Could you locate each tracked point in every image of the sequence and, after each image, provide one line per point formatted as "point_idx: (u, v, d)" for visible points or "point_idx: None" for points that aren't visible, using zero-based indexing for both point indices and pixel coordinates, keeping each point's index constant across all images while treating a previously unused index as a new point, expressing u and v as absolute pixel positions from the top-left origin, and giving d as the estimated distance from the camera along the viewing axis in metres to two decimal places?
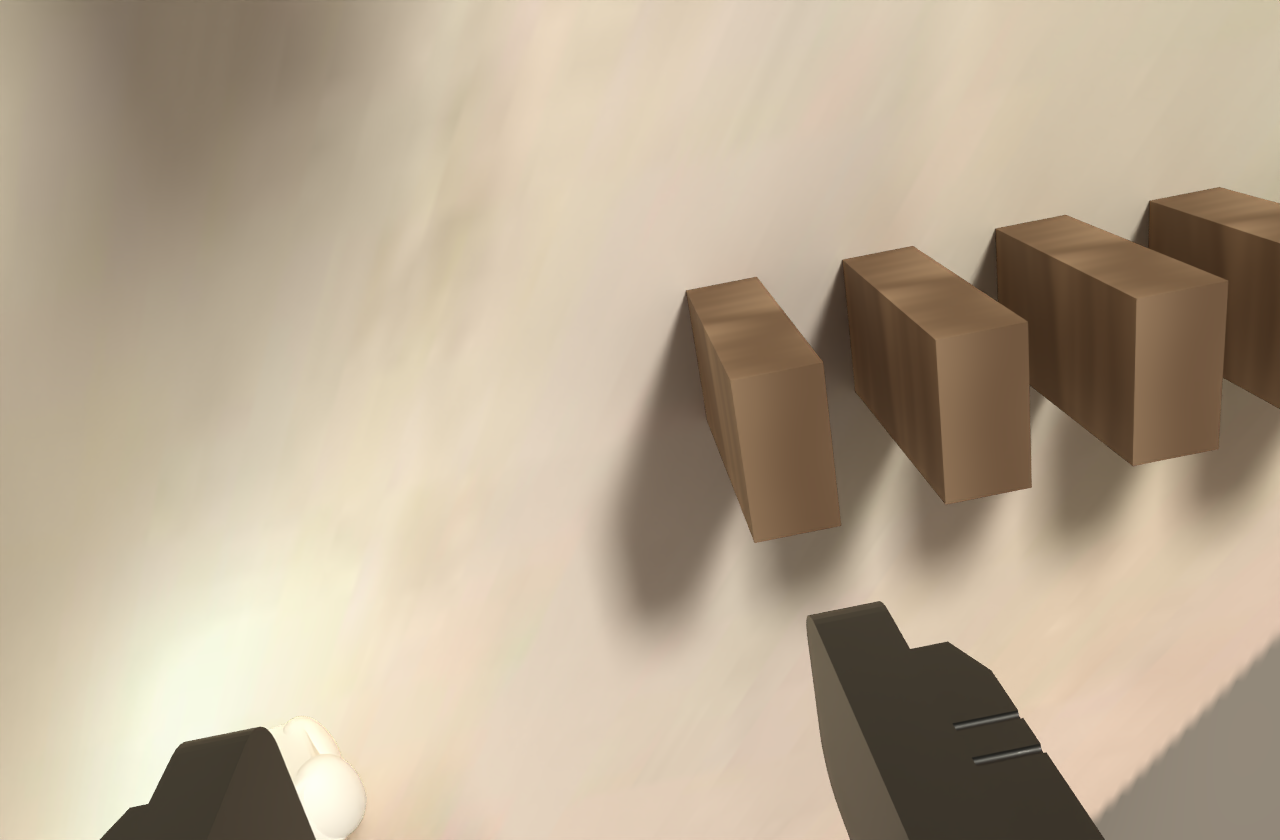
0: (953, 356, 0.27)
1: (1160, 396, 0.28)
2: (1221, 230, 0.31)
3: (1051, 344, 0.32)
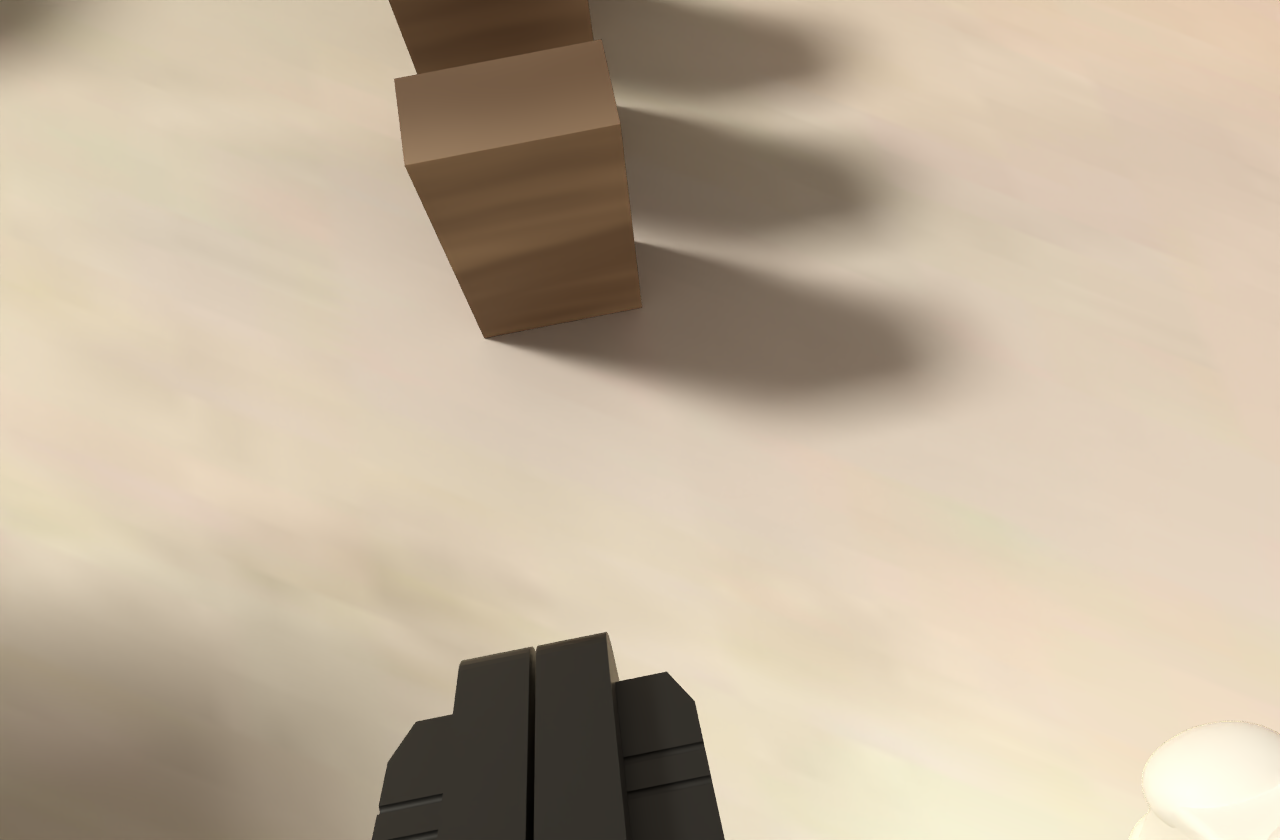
0: None
1: None
2: None
3: None
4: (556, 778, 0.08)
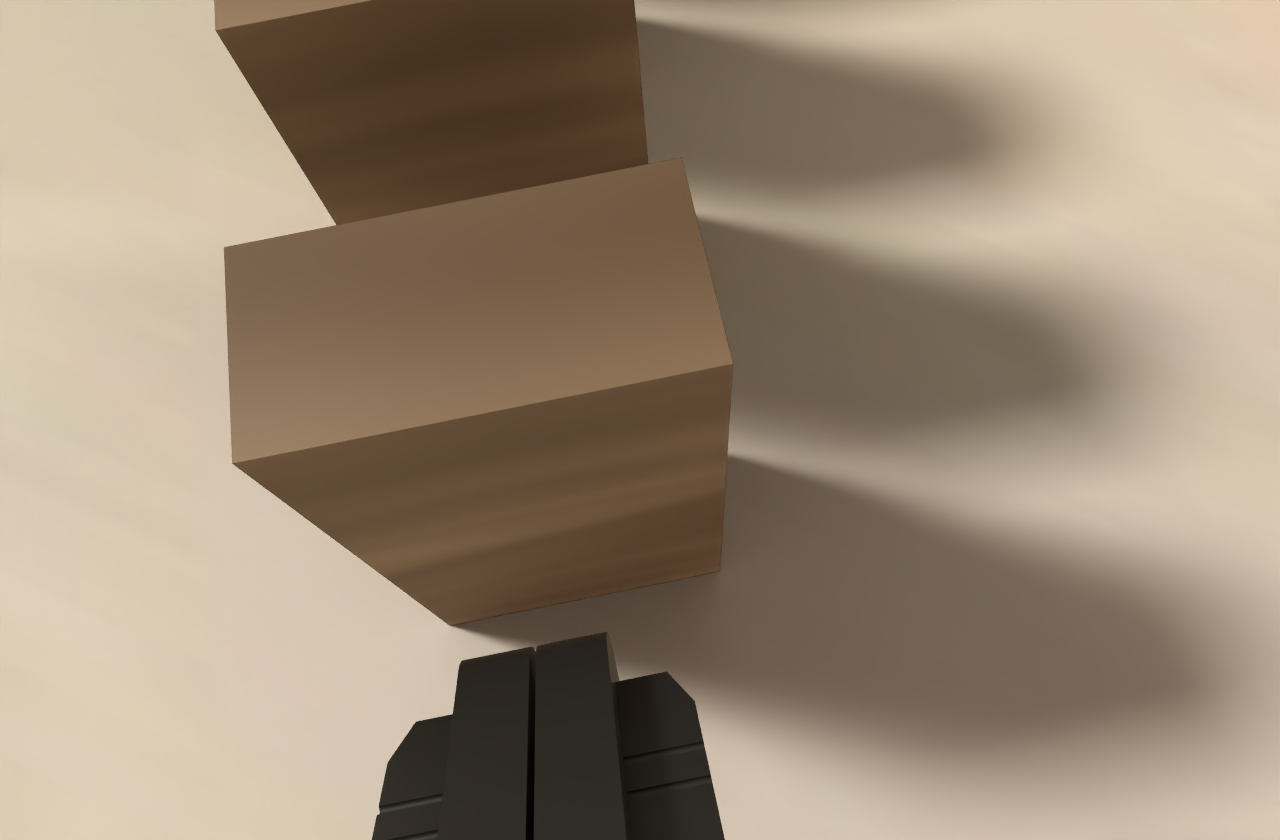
0: None
1: None
2: None
3: None
4: (556, 778, 0.08)
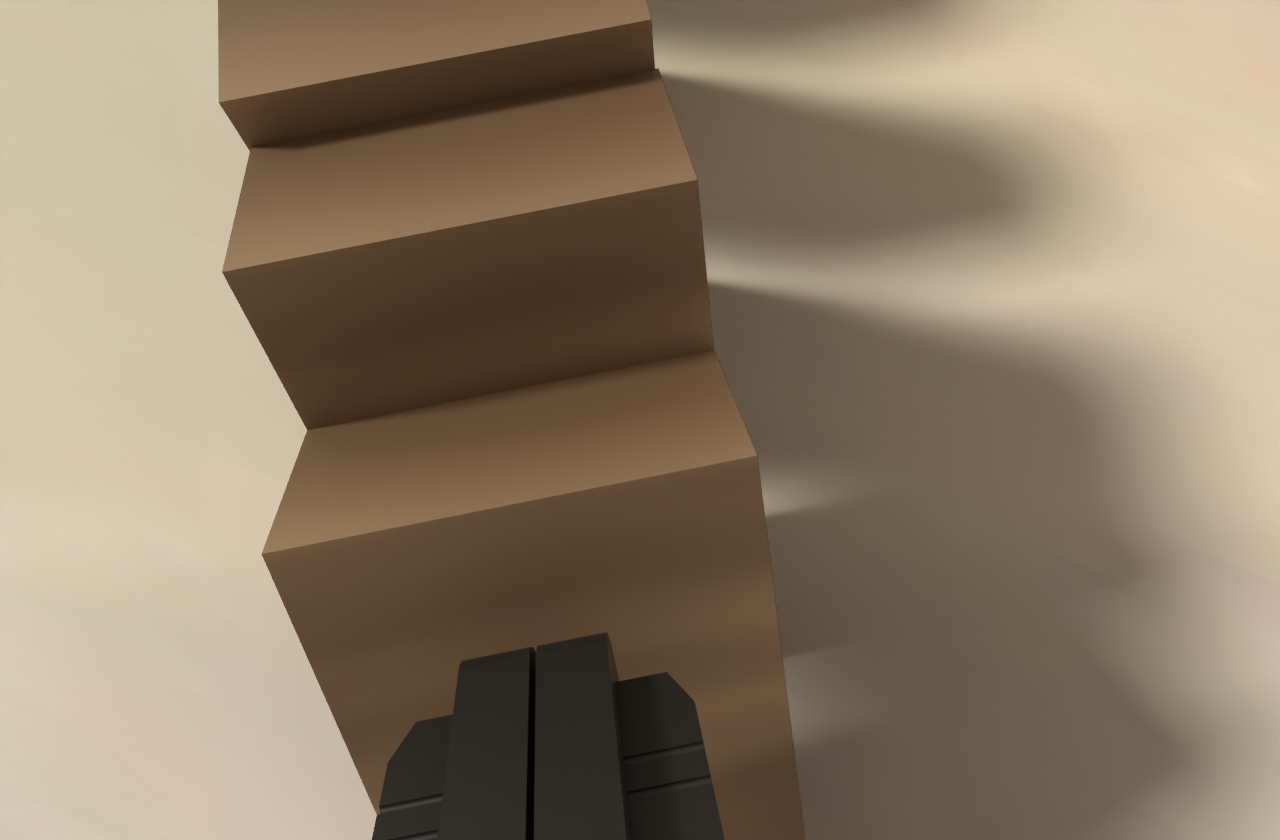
0: (280, 235, 0.11)
1: (470, 6, 0.12)
2: None
3: None
4: (556, 778, 0.08)
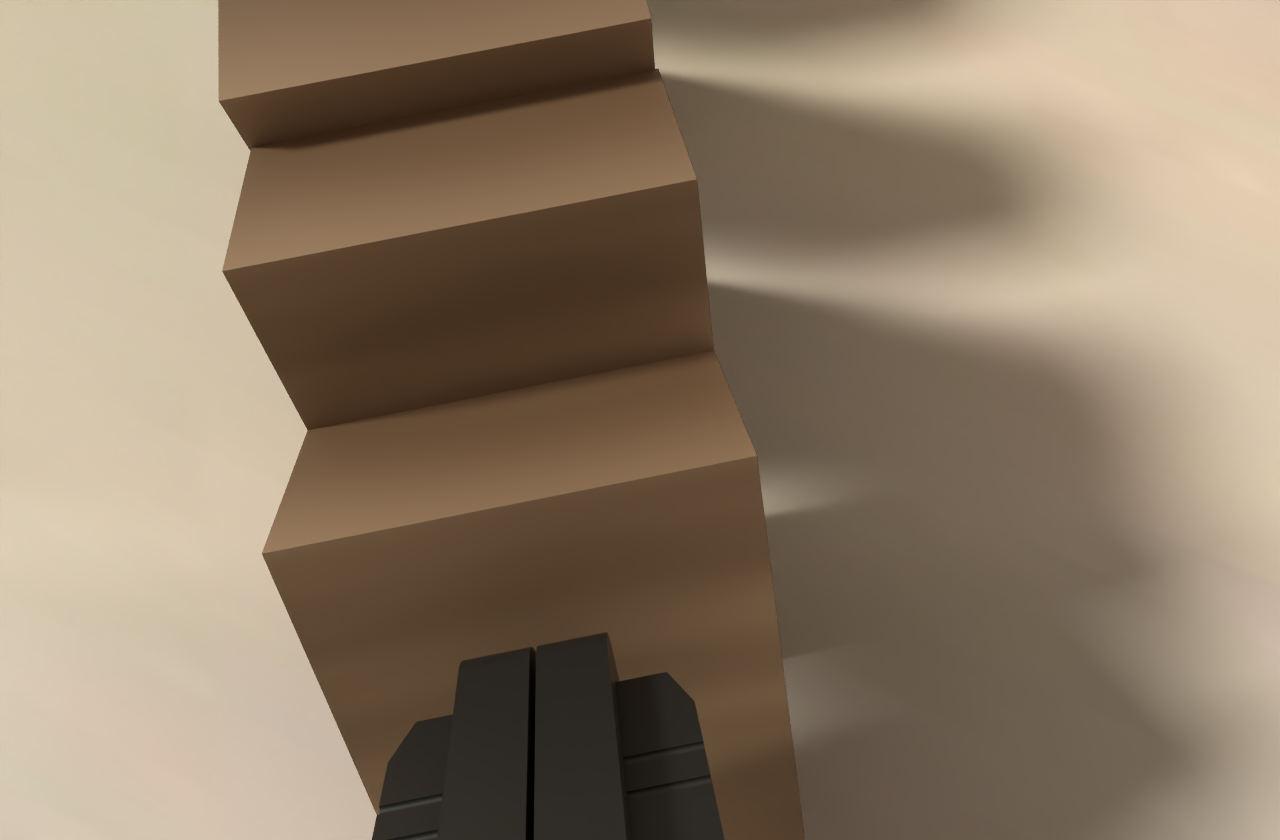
0: (281, 234, 0.11)
1: (470, 4, 0.12)
2: None
3: None
4: (556, 778, 0.08)
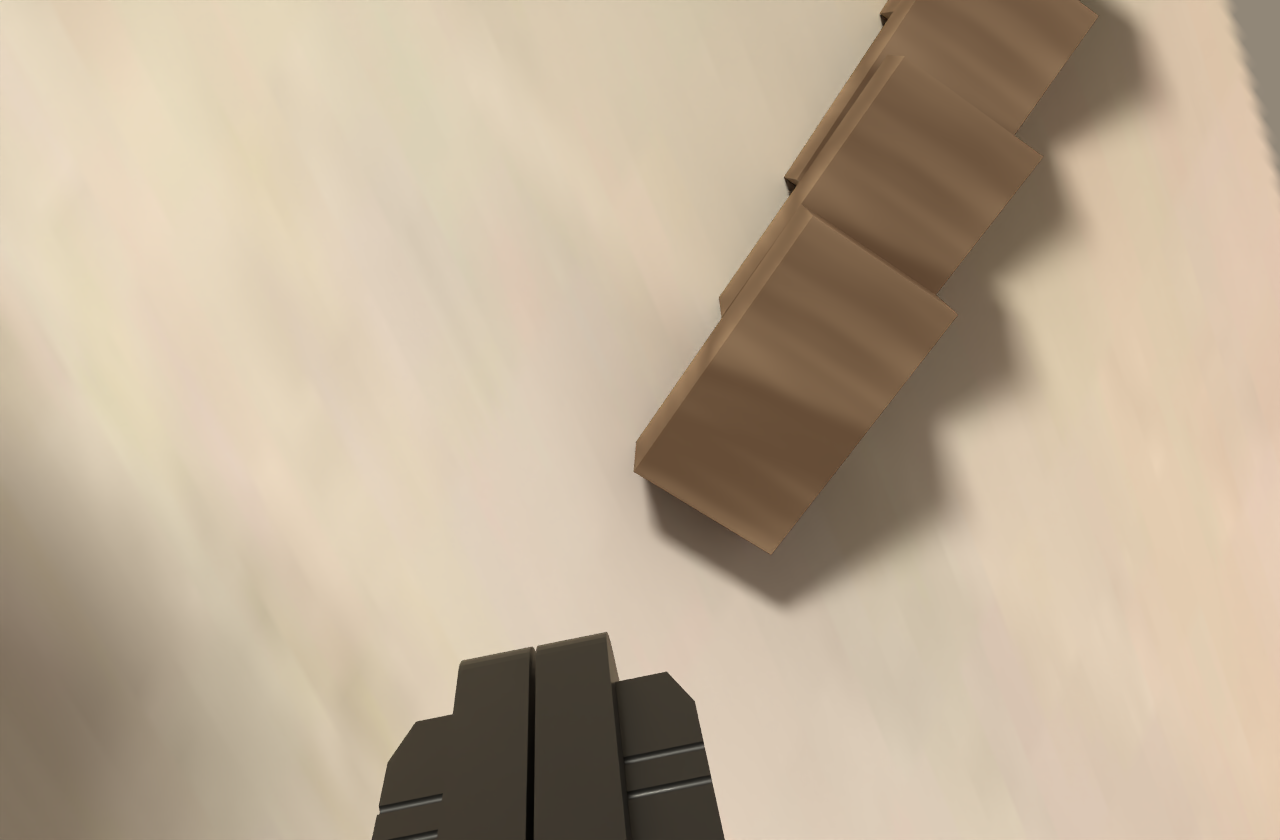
0: None
1: None
2: None
3: None
4: (556, 778, 0.08)
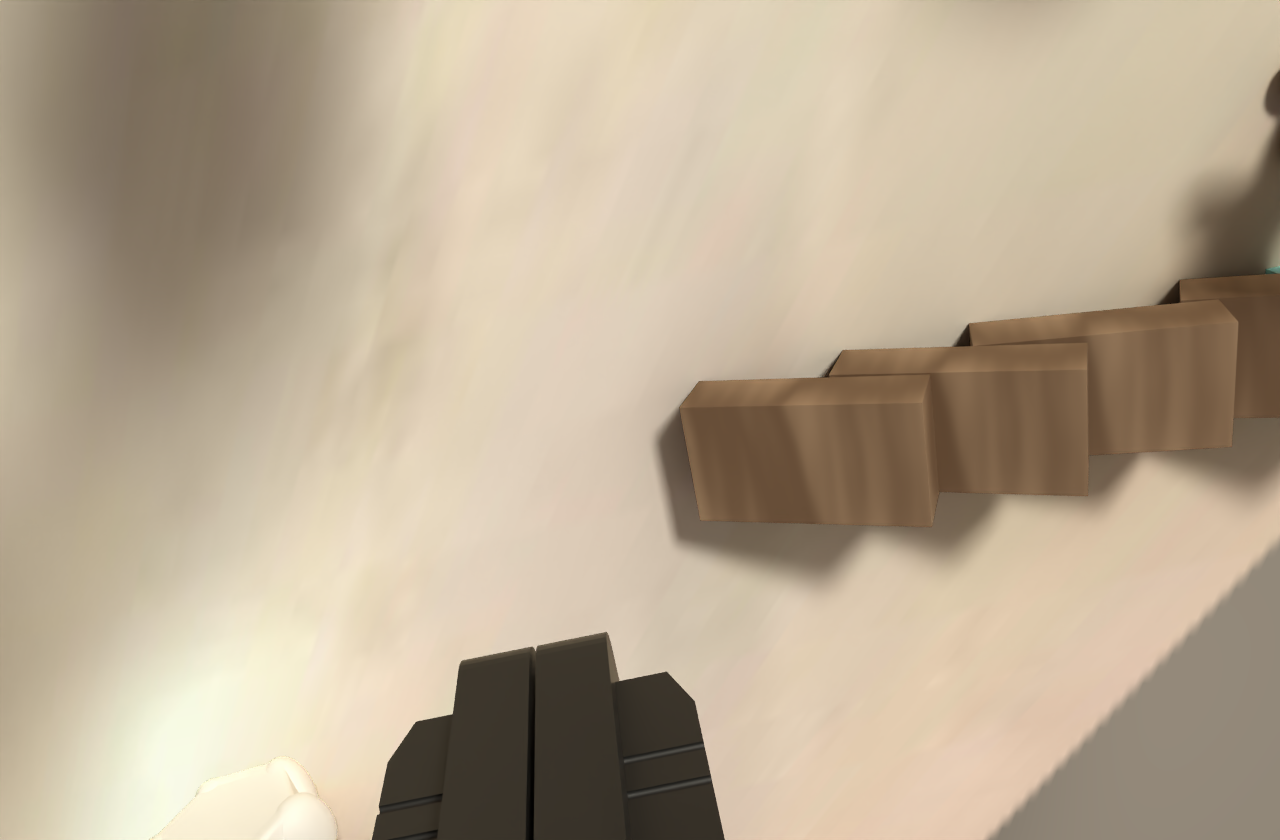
0: None
1: None
2: None
3: (1090, 407, 0.38)
4: (555, 778, 0.08)
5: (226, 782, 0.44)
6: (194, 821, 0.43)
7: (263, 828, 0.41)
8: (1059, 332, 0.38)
